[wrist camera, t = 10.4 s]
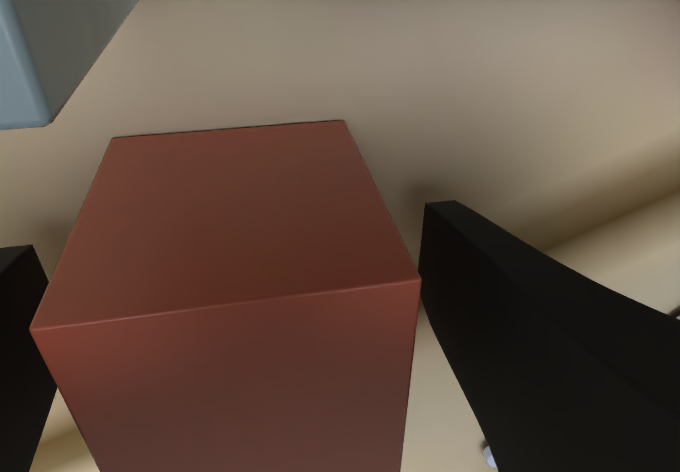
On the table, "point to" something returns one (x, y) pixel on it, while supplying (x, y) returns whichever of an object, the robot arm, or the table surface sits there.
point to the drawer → (50, 53)
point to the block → (234, 307)
